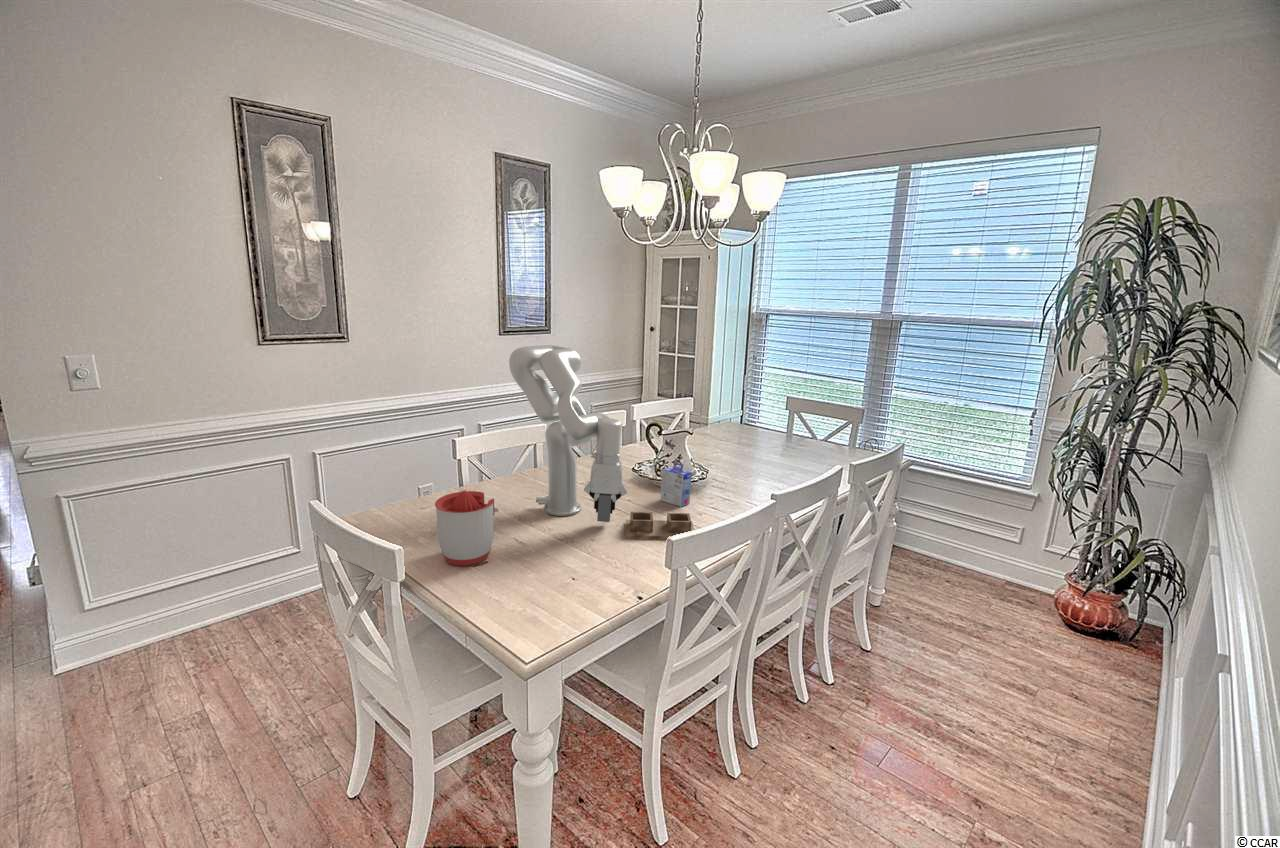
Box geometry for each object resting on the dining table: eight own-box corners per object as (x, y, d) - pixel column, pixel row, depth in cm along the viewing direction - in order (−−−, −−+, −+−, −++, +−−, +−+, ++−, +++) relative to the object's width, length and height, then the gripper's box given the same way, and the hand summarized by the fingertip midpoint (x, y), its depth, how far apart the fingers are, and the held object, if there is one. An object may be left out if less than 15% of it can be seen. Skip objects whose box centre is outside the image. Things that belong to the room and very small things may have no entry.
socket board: (625, 538, 174) (625, 523, 172) (625, 522, 185) (626, 508, 184) (696, 540, 174) (697, 525, 173) (691, 524, 186) (692, 510, 185)
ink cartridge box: (690, 503, 204) (692, 465, 201) (681, 507, 200) (684, 469, 197) (668, 496, 210) (670, 459, 207) (659, 500, 206) (661, 463, 203)
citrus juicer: (511, 557, 159) (510, 490, 155) (453, 576, 148) (450, 505, 143) (484, 538, 170) (482, 476, 166) (428, 555, 159) (424, 488, 154)
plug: (597, 521, 180) (599, 491, 177) (597, 515, 183) (599, 486, 181) (609, 521, 180) (611, 492, 177) (610, 516, 184) (612, 487, 181)
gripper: (580, 460, 172) (577, 514, 177) (634, 463, 173) (630, 518, 178) (582, 452, 179) (579, 504, 184) (634, 455, 180) (630, 508, 185)
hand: (604, 510), depth 181 cm, fingers closed on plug, 4 cm apart
